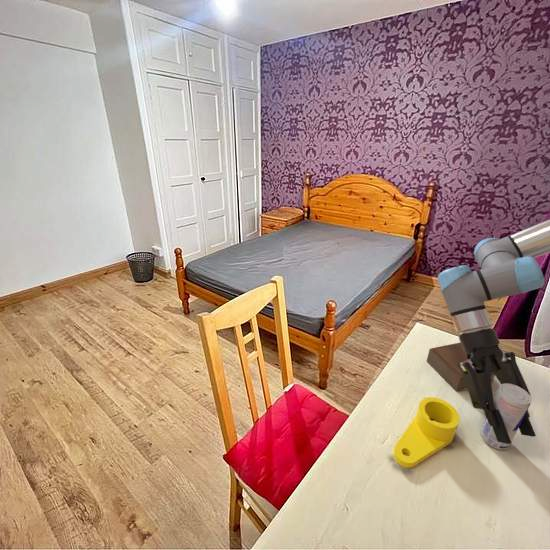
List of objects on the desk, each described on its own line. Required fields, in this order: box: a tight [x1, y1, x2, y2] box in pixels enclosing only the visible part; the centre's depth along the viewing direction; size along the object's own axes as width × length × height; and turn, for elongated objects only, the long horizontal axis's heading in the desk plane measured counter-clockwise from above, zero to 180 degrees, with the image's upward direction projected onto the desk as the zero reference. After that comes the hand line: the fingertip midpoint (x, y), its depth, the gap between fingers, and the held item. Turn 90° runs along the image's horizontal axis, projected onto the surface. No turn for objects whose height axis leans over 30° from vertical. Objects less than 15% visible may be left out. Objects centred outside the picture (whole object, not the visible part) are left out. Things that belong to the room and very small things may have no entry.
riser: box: [426, 342, 496, 392], centre depth 88 cm, size 12×12×5 cm
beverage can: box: [480, 383, 533, 451], centre depth 67 cm, size 6×6×15 cm
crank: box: [392, 396, 460, 469], centre depth 69 cm, size 18×8×6 cm, turn 125°
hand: (516, 438), depth 65 cm, fingers closed on beverage can, 6 cm apart
